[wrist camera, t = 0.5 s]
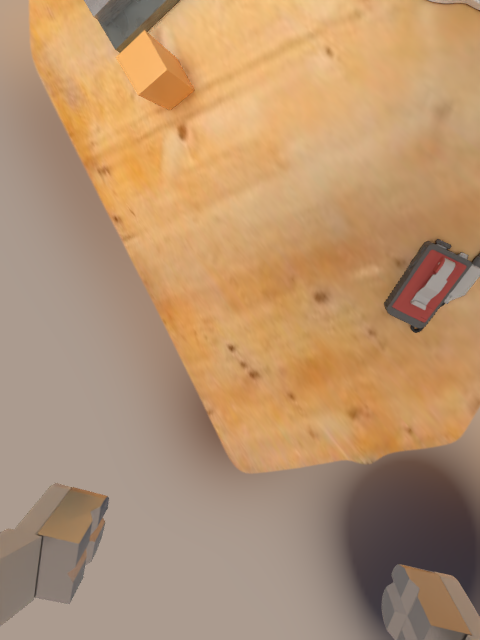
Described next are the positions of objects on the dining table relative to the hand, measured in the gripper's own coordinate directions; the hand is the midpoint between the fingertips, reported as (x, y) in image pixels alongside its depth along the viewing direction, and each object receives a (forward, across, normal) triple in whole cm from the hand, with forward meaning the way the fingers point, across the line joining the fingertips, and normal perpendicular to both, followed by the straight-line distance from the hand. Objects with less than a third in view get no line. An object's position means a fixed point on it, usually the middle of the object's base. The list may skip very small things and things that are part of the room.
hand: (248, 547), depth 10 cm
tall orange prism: (+46, +18, -26) cm, 56 cm away
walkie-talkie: (+45, -26, -10) cm, 53 cm away
